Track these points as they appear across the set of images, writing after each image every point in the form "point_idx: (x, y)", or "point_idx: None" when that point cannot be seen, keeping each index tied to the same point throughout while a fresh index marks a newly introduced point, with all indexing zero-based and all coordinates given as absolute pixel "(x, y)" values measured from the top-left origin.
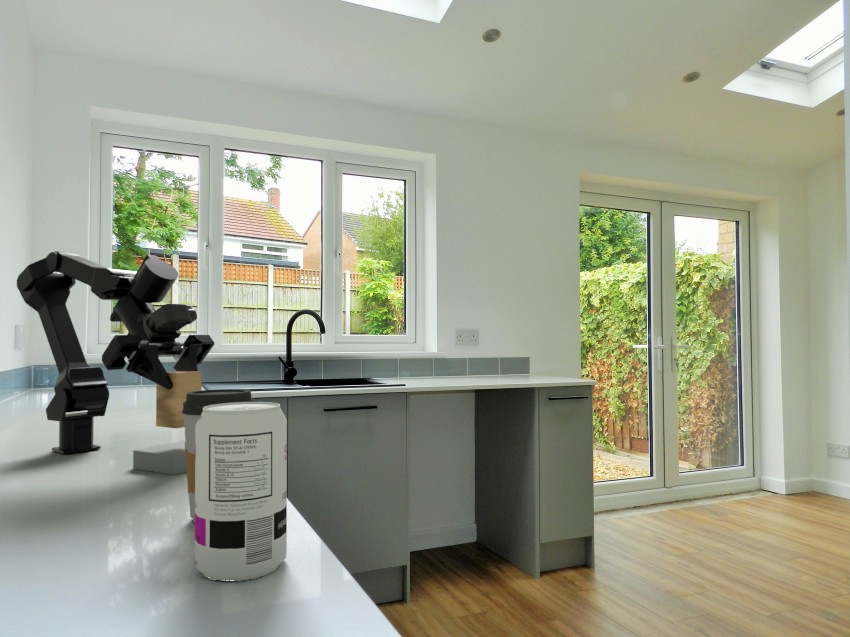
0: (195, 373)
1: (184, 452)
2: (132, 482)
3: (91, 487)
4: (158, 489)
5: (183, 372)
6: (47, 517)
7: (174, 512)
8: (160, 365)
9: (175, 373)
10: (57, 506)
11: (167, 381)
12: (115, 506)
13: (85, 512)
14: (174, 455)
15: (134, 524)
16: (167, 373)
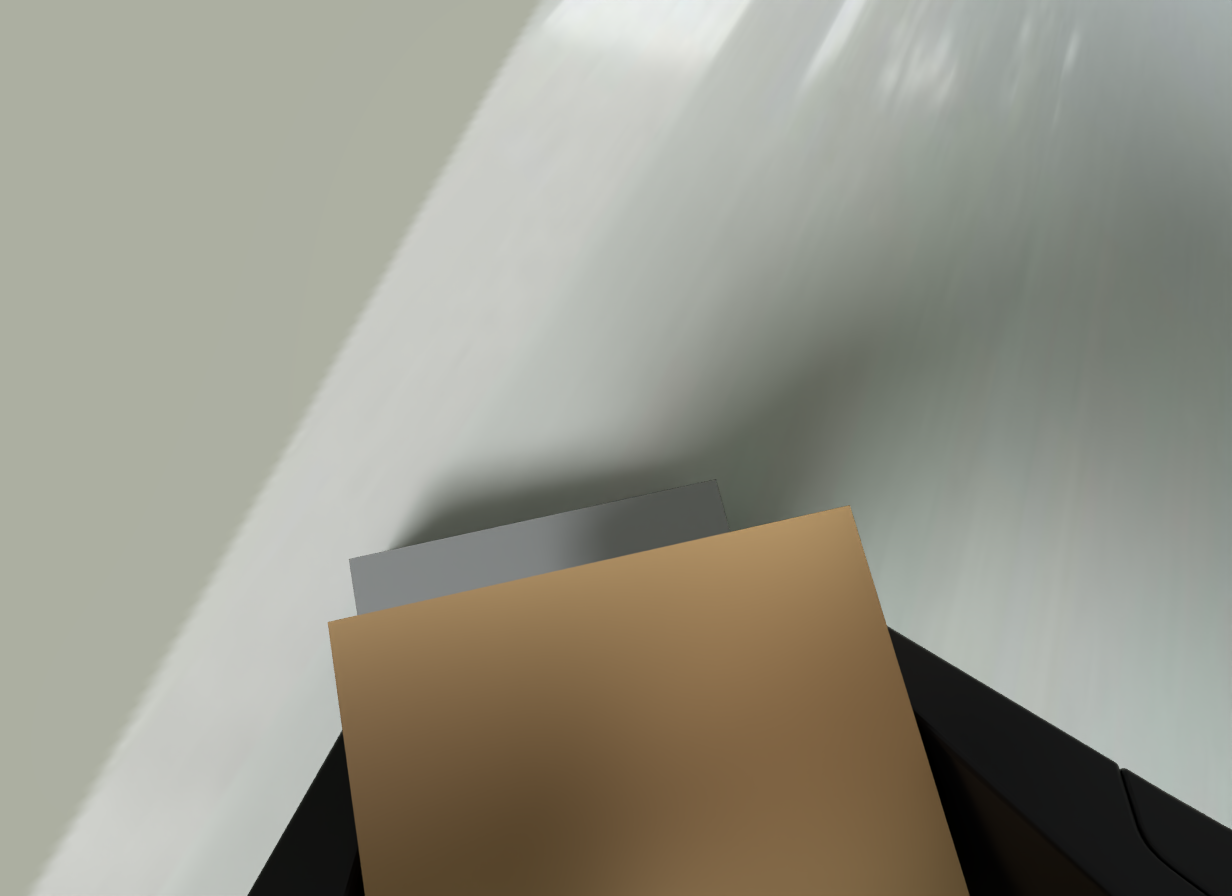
0: (473, 591)
1: (634, 522)
2: (879, 511)
3: (1033, 562)
4: (840, 310)
5: (693, 596)
6: (1206, 260)
7: (902, 21)
8: (1131, 839)
9: (854, 537)
10: (1172, 366)
11: (889, 633)
12: (1021, 215)
13: (1108, 223)
14: (710, 485)
15: (1022, 11)
16: (916, 740)
